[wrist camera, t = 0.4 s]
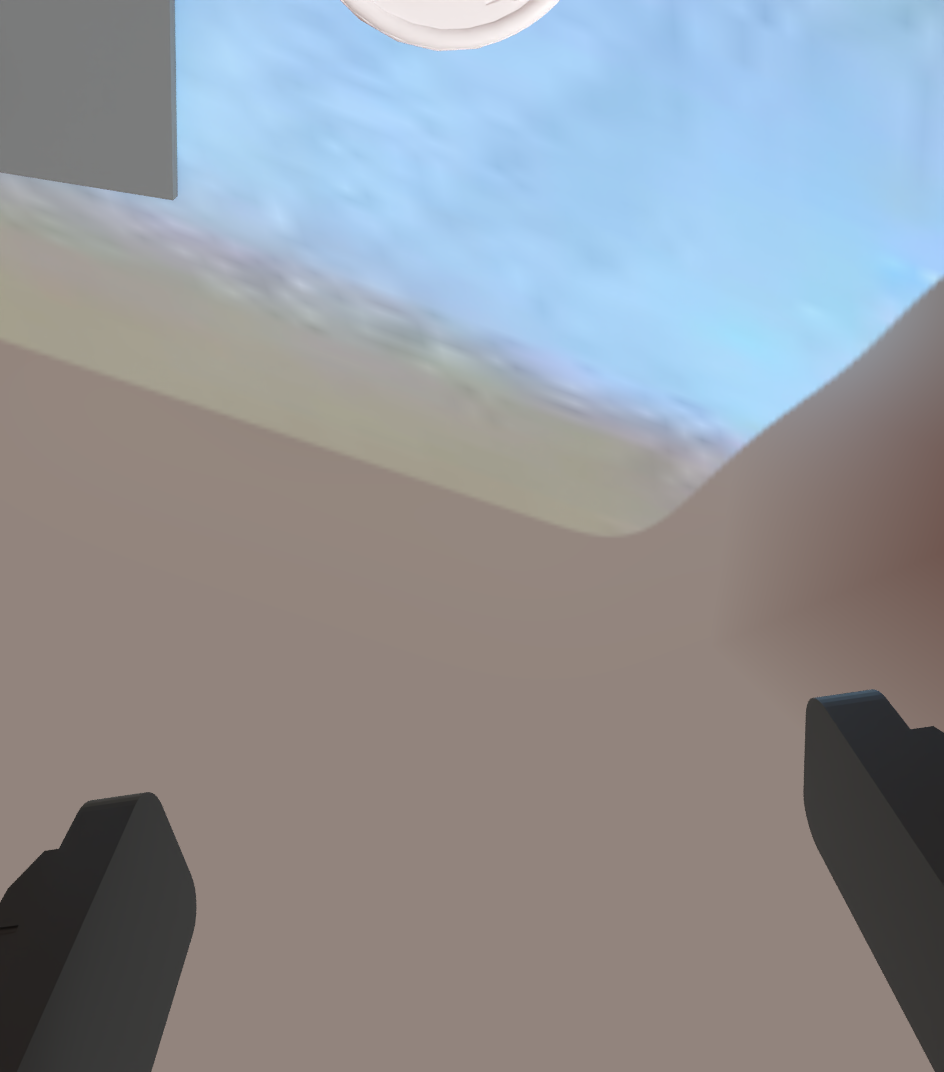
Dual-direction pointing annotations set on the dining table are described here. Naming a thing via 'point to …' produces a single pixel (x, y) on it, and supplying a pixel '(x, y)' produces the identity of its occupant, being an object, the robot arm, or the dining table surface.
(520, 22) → the smoothie
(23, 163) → the mat
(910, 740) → the robot arm
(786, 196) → the dining table surface
